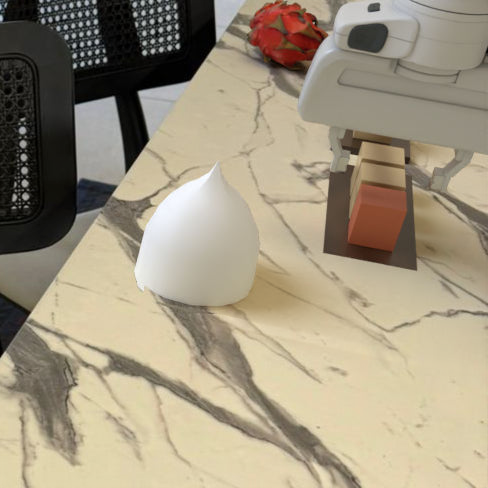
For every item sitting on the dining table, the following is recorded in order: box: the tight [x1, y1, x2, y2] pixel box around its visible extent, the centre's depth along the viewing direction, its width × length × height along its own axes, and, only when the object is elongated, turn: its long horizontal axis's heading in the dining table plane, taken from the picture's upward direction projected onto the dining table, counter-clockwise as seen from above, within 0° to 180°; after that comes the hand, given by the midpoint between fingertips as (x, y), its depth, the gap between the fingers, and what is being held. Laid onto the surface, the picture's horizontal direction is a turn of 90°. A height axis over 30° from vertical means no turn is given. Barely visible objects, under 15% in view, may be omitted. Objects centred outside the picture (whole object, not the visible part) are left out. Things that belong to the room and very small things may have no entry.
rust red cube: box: [348, 184, 407, 252], centre depth 101 cm, size 4×4×4 cm
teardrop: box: [133, 159, 261, 315], centre depth 91 cm, size 11×11×12 cm
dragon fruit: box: [246, 0, 330, 71], centre depth 138 cm, size 8×8×12 cm
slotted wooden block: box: [330, 129, 412, 165], centre depth 126 cm, size 9×22×5 cm, turn 165°
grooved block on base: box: [322, 142, 418, 272], centre depth 106 cm, size 9×22×5 cm, turn 165°
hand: (386, 179), depth 99 cm, fingers open, 8 cm apart
